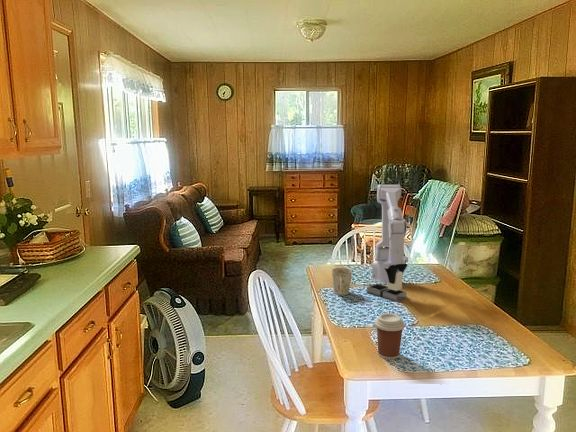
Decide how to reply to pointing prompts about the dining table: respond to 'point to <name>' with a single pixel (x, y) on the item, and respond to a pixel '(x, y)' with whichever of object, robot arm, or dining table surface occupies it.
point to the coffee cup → (389, 335)
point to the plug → (396, 282)
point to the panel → (386, 292)
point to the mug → (341, 280)
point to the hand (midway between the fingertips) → (395, 281)
